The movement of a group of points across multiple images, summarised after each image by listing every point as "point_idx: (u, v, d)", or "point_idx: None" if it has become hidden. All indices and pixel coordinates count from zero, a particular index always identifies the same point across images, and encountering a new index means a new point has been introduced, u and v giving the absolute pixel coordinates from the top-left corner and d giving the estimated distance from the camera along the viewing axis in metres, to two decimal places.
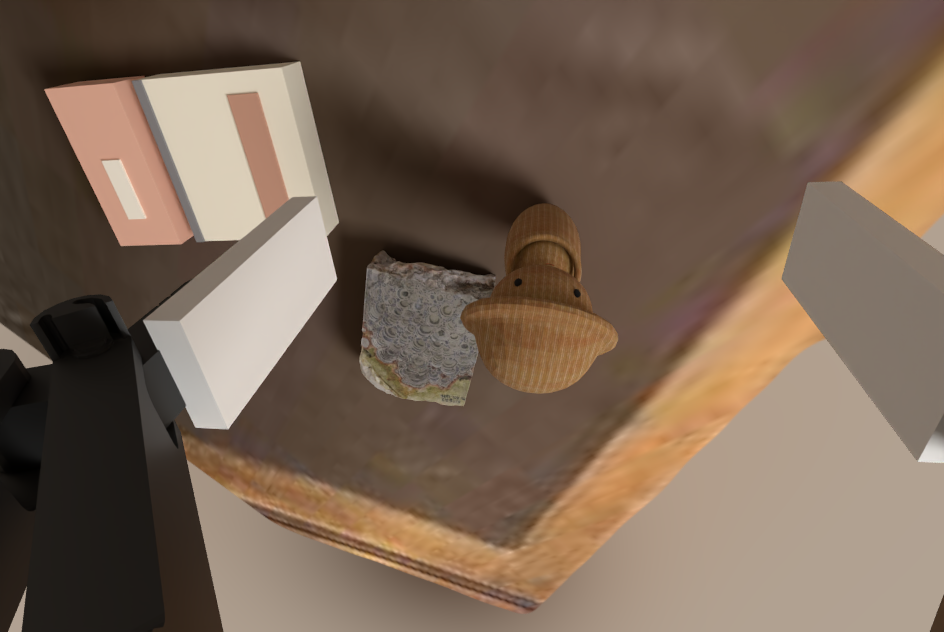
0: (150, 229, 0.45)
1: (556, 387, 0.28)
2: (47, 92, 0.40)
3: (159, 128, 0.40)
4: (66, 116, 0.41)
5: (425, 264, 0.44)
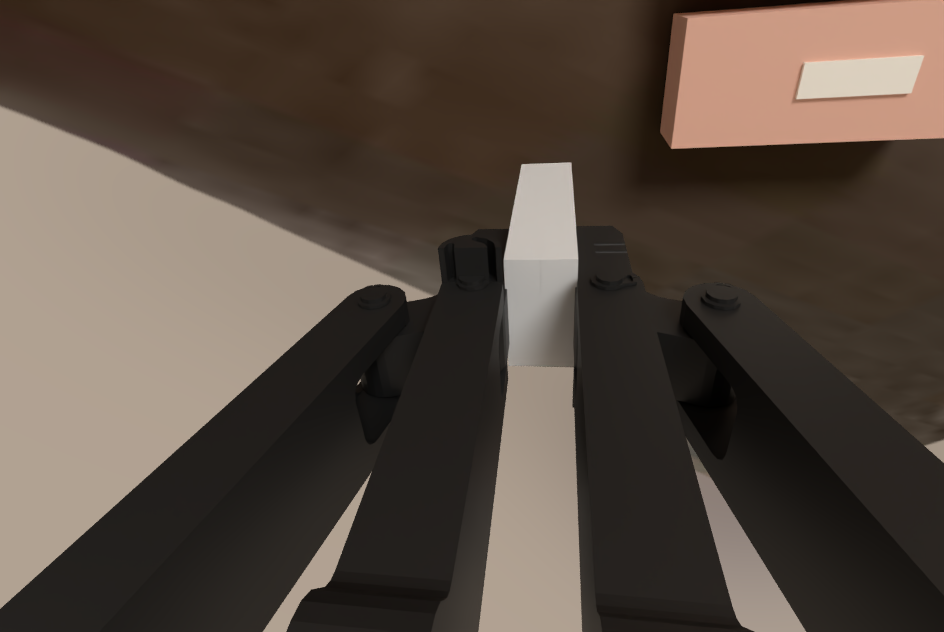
0: None
1: None
2: (676, 145, 0.27)
3: None
4: (713, 131, 0.27)
5: None
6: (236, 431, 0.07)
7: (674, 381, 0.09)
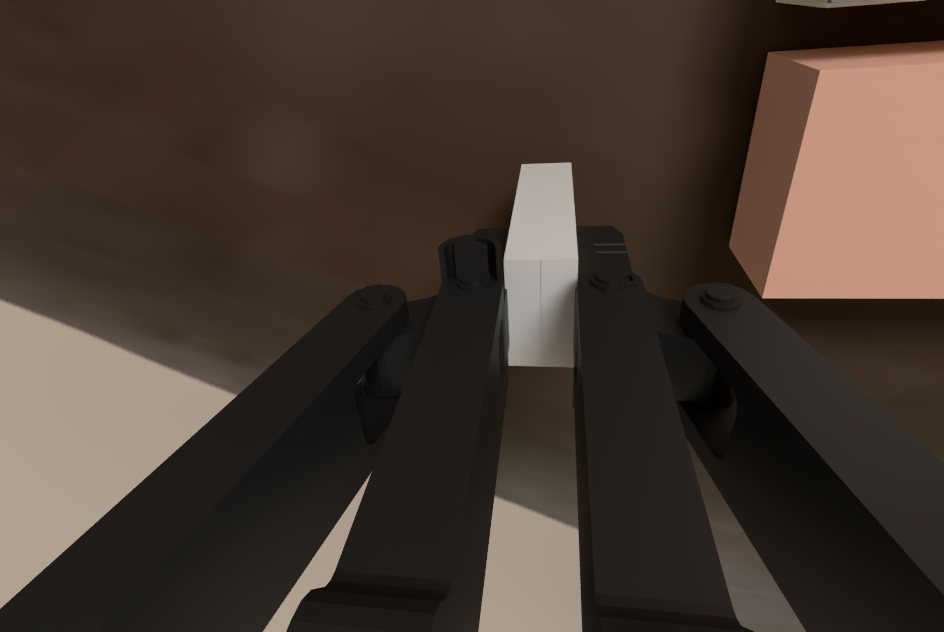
0: None
1: None
2: (772, 293, 0.15)
3: None
4: (846, 274, 0.14)
5: None
6: (236, 431, 0.07)
7: (674, 381, 0.09)
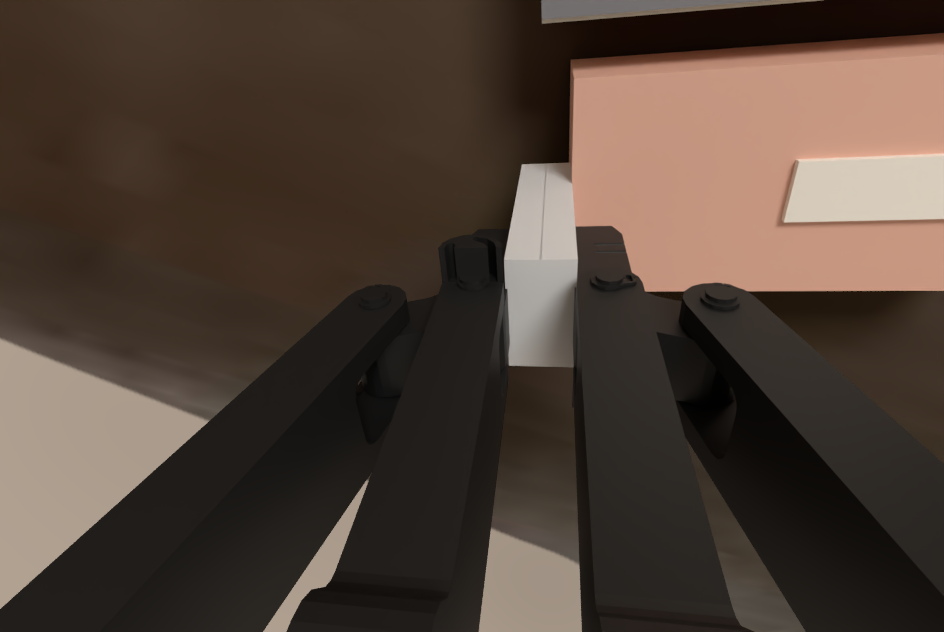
0: None
1: None
2: None
3: None
4: (639, 268, 0.15)
5: None
6: (236, 431, 0.07)
7: (674, 381, 0.09)
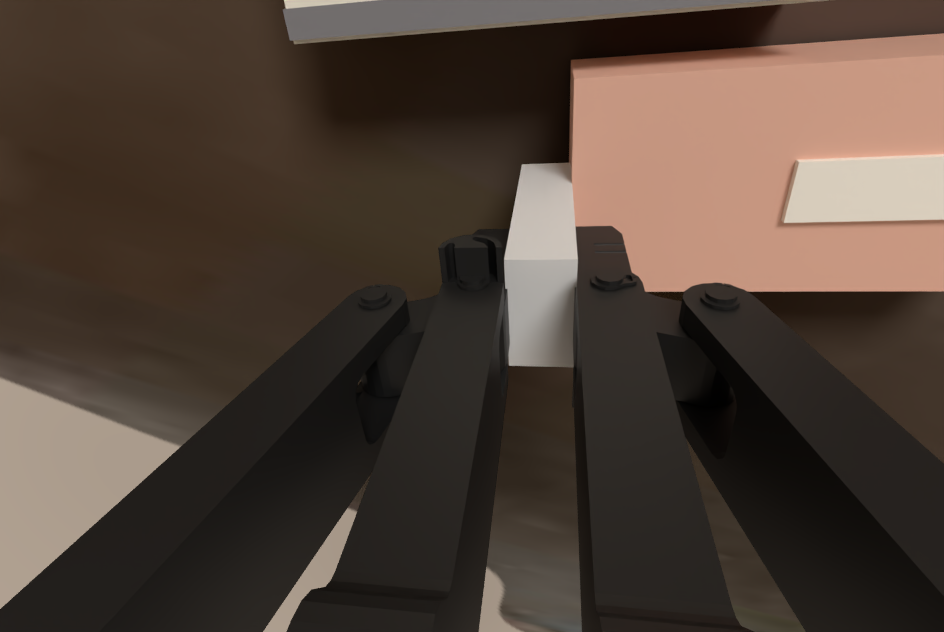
0: None
1: None
2: None
3: None
4: (639, 268, 0.15)
5: None
6: (236, 431, 0.07)
7: (674, 381, 0.09)
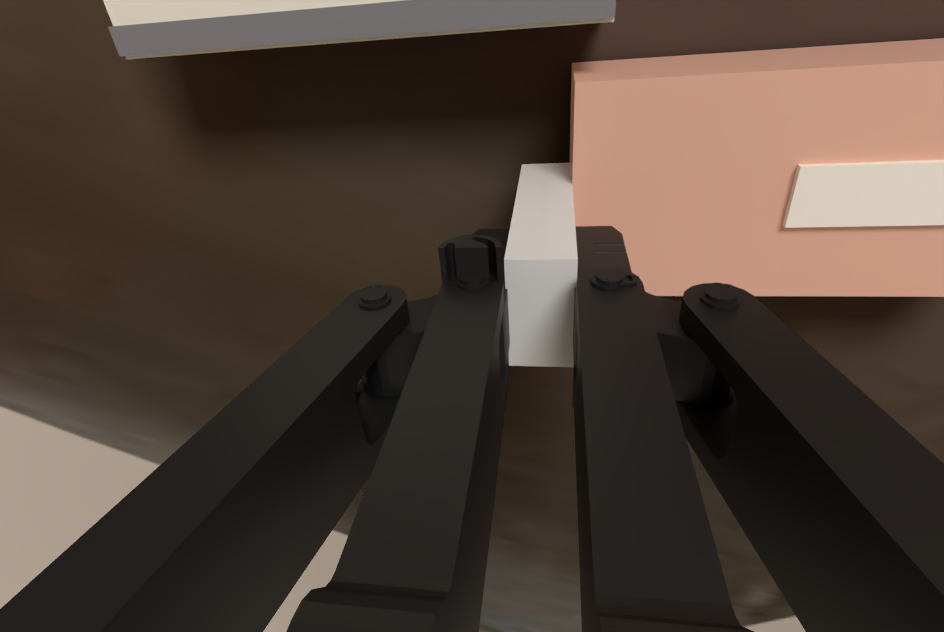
0: None
1: None
2: None
3: (230, 16, 0.13)
4: (640, 272, 0.15)
5: None
6: (236, 431, 0.07)
7: (673, 381, 0.09)
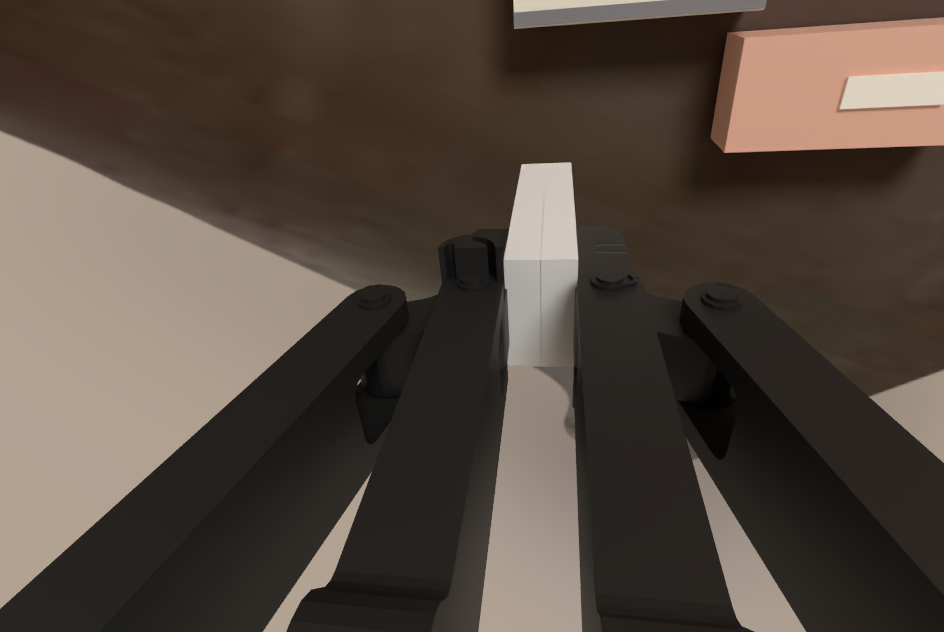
0: None
1: None
2: (729, 149, 0.31)
3: (577, 7, 0.28)
4: (763, 137, 0.30)
5: None
6: (236, 431, 0.07)
7: (674, 381, 0.09)
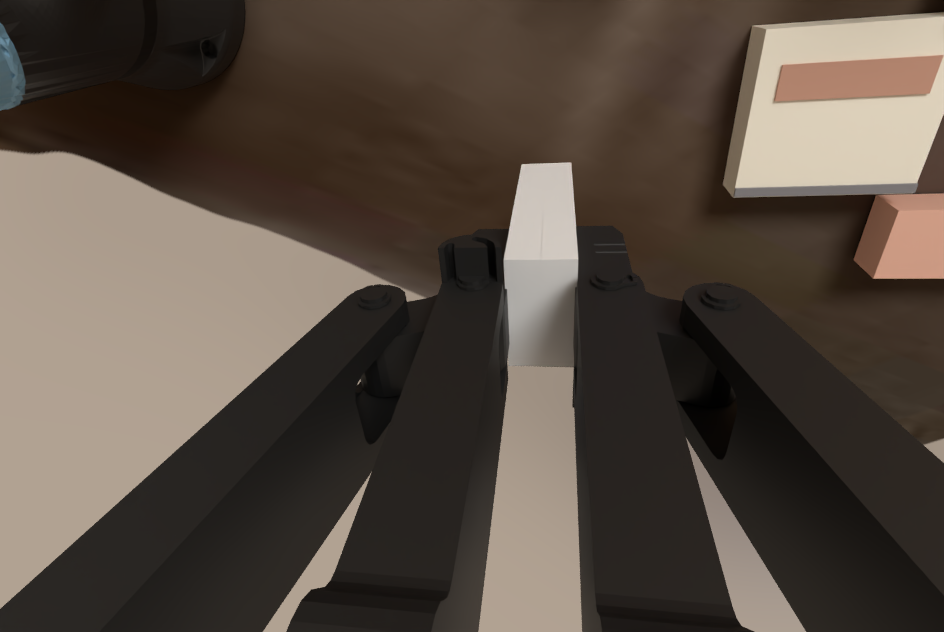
0: None
1: None
2: (877, 276, 0.44)
3: (782, 187, 0.41)
4: (903, 270, 0.43)
5: None
6: (236, 431, 0.07)
7: (674, 381, 0.09)
